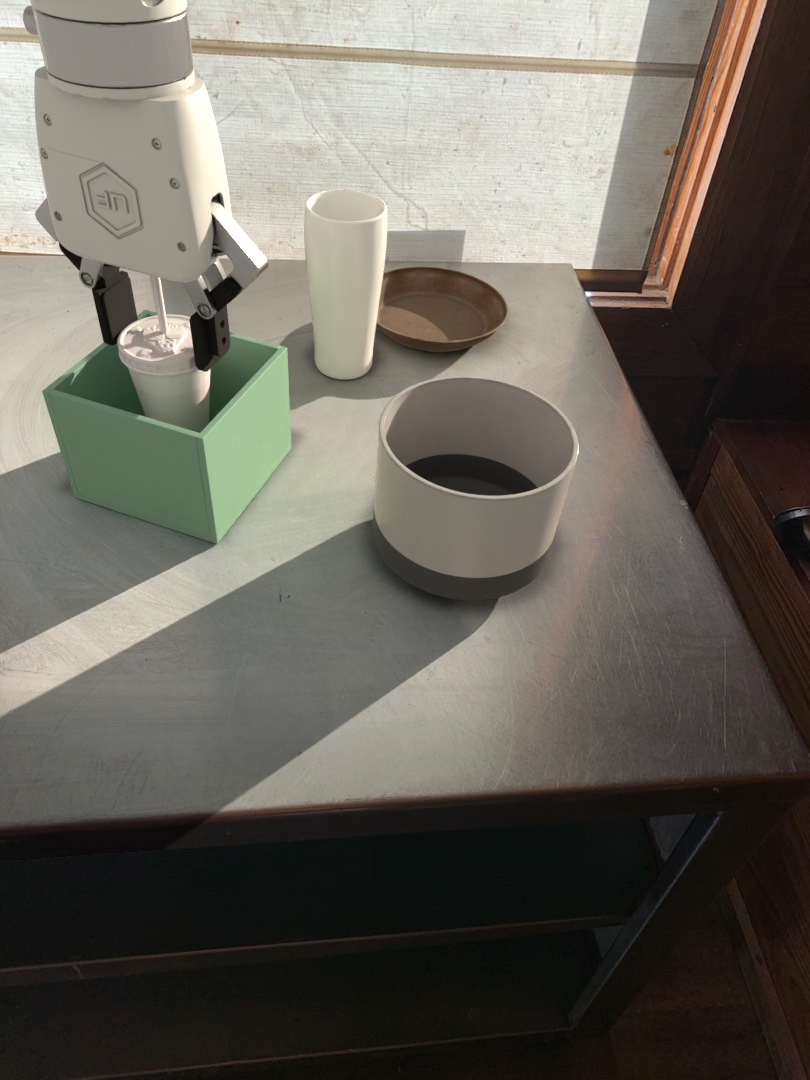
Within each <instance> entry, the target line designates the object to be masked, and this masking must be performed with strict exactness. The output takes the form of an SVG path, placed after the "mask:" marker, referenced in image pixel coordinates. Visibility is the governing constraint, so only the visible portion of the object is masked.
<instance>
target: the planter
mask: <svg viewBox="0 0 810 1080" xmlns="http://www.w3.org/2000/svg"><path fill="white" fill-rule="evenodd" d="M579 447H580V446H579V439H578V436H577V433H576V429H575V428H574V426H573V424H572V422H571V421H570V420H569V418H568V417H567V416H566V414H564V413H563V411H561V410H560V408H558V406H556V405H555V404H554V403H553V402H551V401H550V400H548V399H547V398H545V397H543V396H542V395H540V394H539V393H537V392H534V391H533V390H530V389H528V388H527V387H525V386H522V385H519V384H517V383H514V382H510V381H507V380H502V379H497V378H494V377H487V376H479V375H447V376H440V377H435V378H431V379H427V380H422V381H420V382H418V383H414V384H413V385H409V386H408V387H406V388H404V389H403V390H402V391H400V392H398V393H397V394H396V395H394V397H392V398H391V399H390V400H389V401H388V403H387V404H386V405H385V407H384V408H383V410H382V412H381V414H380V417H379V421H378V435H377V449H376V450H377V453H376V466H375V467H376V469H375V484H374V485H375V487H374V500H373V501H374V502H373V503H374V504H373V520H372V536H373V541H374V544H375V547H376V549H377V552H378V554H379V555H380V557H381V559H382V560H383V562H384V563H385V564H386V565H387V567H388V568H389V569H391V571H392V572H394V573H395V575H397V576H398V577H400V578H401V579H402V580H403V581H405V582H406V583H408V584H410V585H411V586H413V587H415V588H417V589H420V590H421V591H423V592H426V593H428V594H431V595H434V596H438V597H442V598H446V599H451V600H460V601H485V600H492V599H496V598H501V597H505V596H507V595H511V594H514V593H515V592H518V591H520V590H521V589H523V588H524V587H526V586H528V585H529V584H530V583H532V582H533V581H534V580H535V579H536V578H537V577H538V576H539V574H540V573H541V572H542V571H543V569H545V566H546V564H547V562H548V560H549V556H550V554H551V550H552V547H553V542H554V541H555V540H554V539H555V536H556V533H557V529H558V526H559V523H560V519H561V515H562V512H563V508H564V504H565V502H566V499H567V494H568V491H569V487H570V484H571V481H572V477H573V475H574V470H575V466H576V464H577V459H578V457H579V456H578V455H579Z"/></svg>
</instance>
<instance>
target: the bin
mask: <svg viewBox="0 0 810 1080" xmlns="http://www.w3.org/2000/svg"><path fill="white" fill-rule="evenodd" d="M156 315H157V311H152V310H148V309H144V310H143V311H141V312H140V313H138V314H137V317H138V320H140V319H143V318H146V317H150V316H156ZM229 332H230V331H229ZM289 379H290V378H289V357H288V347H287V346H283V345H279V344H275V343H272V342H268V341H265V340H261V339H257V338H254V337H249V336H245V335H242V334H238V333H234V332H232V331H231V332H230V348H229V350H228V352H227V353H226V354H225V355H224V356H223V357H222V358H221V359H220V360H219V361H218V362H217V363H216V364H215V365H214V366H213V367H211V368H210V403H209V424H208V425H207V426H206V427H205V428H204V429H203V430H202V431H201V432H200V433H198V432H195V431H191V430H188V429H184V428H181V427H178V426H174V425H171V424H168V423H164V422H161V421H158V420H154V419H151V418H148V417H146V416H145V413H144V411H143V408H142V405H141V402H140V400H139V397H138V394H137V391H136V388H135V386H134V383H133V381H132V378H131V375H130V372H129V369H128V367H127V366H126V365H125V364H124V363H123V362H122V361H121V359H120V357H119V348H118V344H115V345H109V344H105V343H104V341H102V343H101V344H99V345H98V346H97V347H95V348H94V349H93V350H92V351H91V352H89V353H88V354H87V355H85V356H84V357H83V358H81V359H80V361H78V362H76V364H74V365H73V366H72V367H71V368H69V369H68V370H66V372H64V373H63V374H61V375H60V376H59V377H58V378H56V379H54V381H53V382H51V383H50V384H49V385H48V386H46V387H45V388H44V389H43V390H42V396H43V399H44V402H45V405H46V408H47V412H48V415H49V419H50V422H51V425H52V428H53V432H54V435H55V438H56V441H57V442H56V443H57V445H58V449H59V452H60V454H61V458H62V461H63V464H64V467H65V470H66V474H67V477H68V481H69V484H70V487H71V491H72V494H73V496H74V498H75V499H78V500H81V501H84V502H86V503H87V502H88V503H91V504H93V505H96V506H100V507H102V508H105V509H109V510H112V511H115V512H117V513H120V514H124V515H126V516H131V517H133V518H137V519H139V520H142V521H145V522H149V523H152V524H154V525H158V526H160V527H164V528H166V529H170V530H172V531H176V532H179V533H182V534H186V535H188V536H190V537H194V538H197V539H200V540H203V541H206V542H209V543H213V544H215V545H219V543H220V542H221V541H222V539H223V538H224V537H225V535H226V534H228V532H229V530H230V529H231V528H232V526H233V525H234V524H235V522H236V521H237V520H238V519H239V517H240V516H241V515H242V514H243V512H244V511H245V510H246V508H247V507H248V506H249V505H250V503H251V502H252V501H253V499H254V498H255V497H256V495H257V494H258V493H259V492H260V490H261V489H262V488H263V486H264V485H265V484H266V482H267V481H268V480H269V478H270V477H271V476H272V475H273V473H274V472H275V471H276V469H277V468H278V467H279V466H280V464H281V463H282V462H283V460H284V459H285V458H286V457H287V455H289V453H290V452H291V450H292V428H291V427H292V426H291V406H290V405H291V404H290V403H291V402H290V382H289V381H290V380H289Z"/></svg>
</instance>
